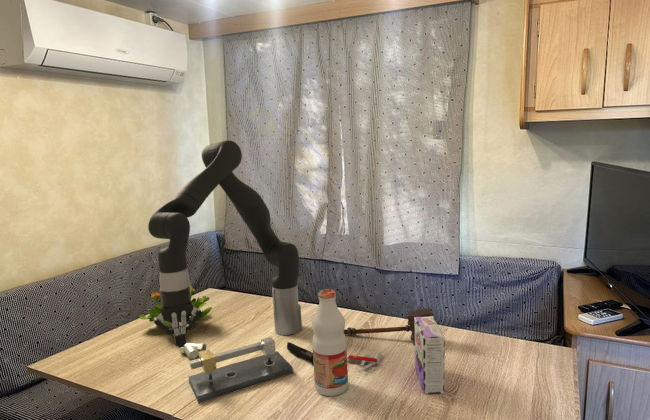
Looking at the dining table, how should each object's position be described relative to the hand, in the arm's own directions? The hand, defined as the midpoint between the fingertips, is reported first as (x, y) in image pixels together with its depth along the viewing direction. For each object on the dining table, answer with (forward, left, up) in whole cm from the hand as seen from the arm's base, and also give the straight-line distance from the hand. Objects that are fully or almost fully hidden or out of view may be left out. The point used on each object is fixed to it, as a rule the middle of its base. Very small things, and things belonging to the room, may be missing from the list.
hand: (180, 346), depth 120 cm
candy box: (-61, +31, -15) cm, 70 cm away
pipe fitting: (-6, -23, -15) cm, 28 cm away
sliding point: (-7, -2, -12) cm, 14 cm away
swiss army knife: (-50, +12, -15) cm, 54 cm away
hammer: (-67, +3, -15) cm, 69 cm away
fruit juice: (-36, +19, -15) cm, 43 cm away
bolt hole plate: (-16, 0, -14) cm, 22 cm away
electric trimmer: (-37, -1, -15) cm, 40 cm away
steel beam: (-15, -1, -12) cm, 19 cm away
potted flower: (-9, -50, -15) cm, 53 cm away
